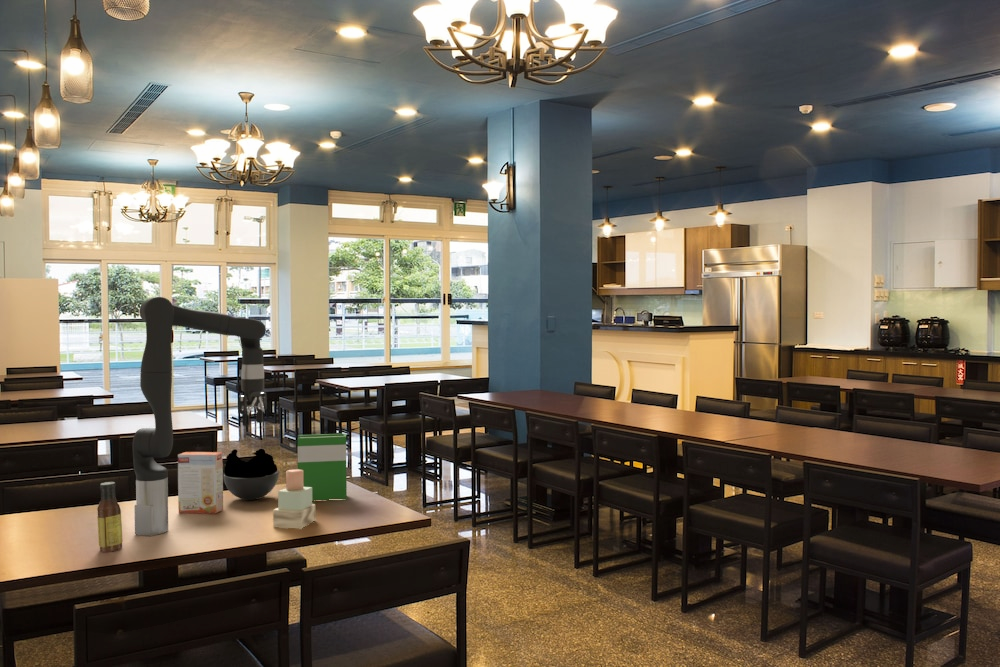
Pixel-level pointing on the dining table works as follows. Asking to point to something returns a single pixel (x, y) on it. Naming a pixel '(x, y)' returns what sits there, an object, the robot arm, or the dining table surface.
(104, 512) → the sauce bottle
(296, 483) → the coral cylinder
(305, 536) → the dining table surface
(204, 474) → the cracker box
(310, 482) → the hardback book
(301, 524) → the birch base block
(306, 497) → the sage block
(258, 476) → the bowl of black rocks
